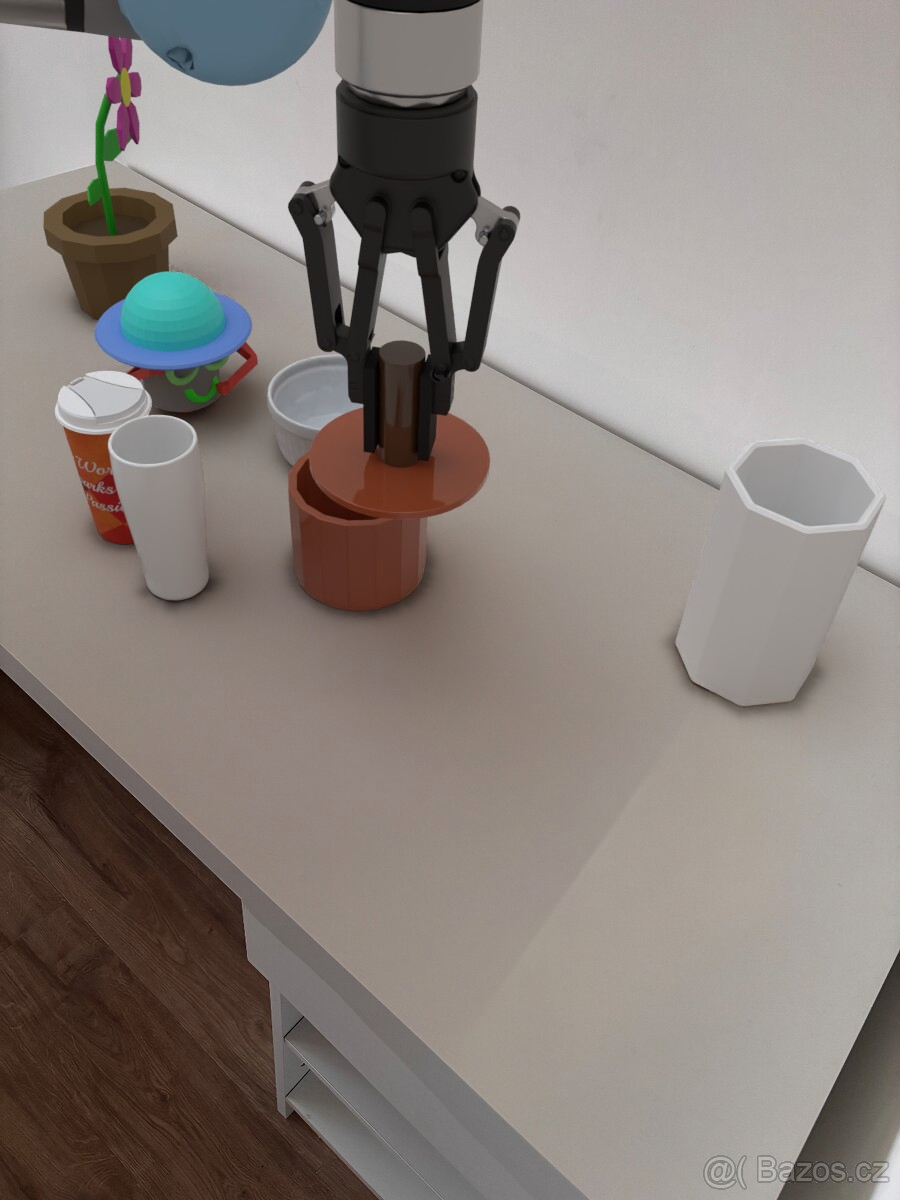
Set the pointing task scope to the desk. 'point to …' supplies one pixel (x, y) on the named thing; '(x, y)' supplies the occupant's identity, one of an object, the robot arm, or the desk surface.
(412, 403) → the lid
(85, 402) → the paper cup
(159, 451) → the white plastic tumbler
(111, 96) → the flowerpot
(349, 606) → the jar
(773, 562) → the cup
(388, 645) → the desk surface
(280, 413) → the ramekin
